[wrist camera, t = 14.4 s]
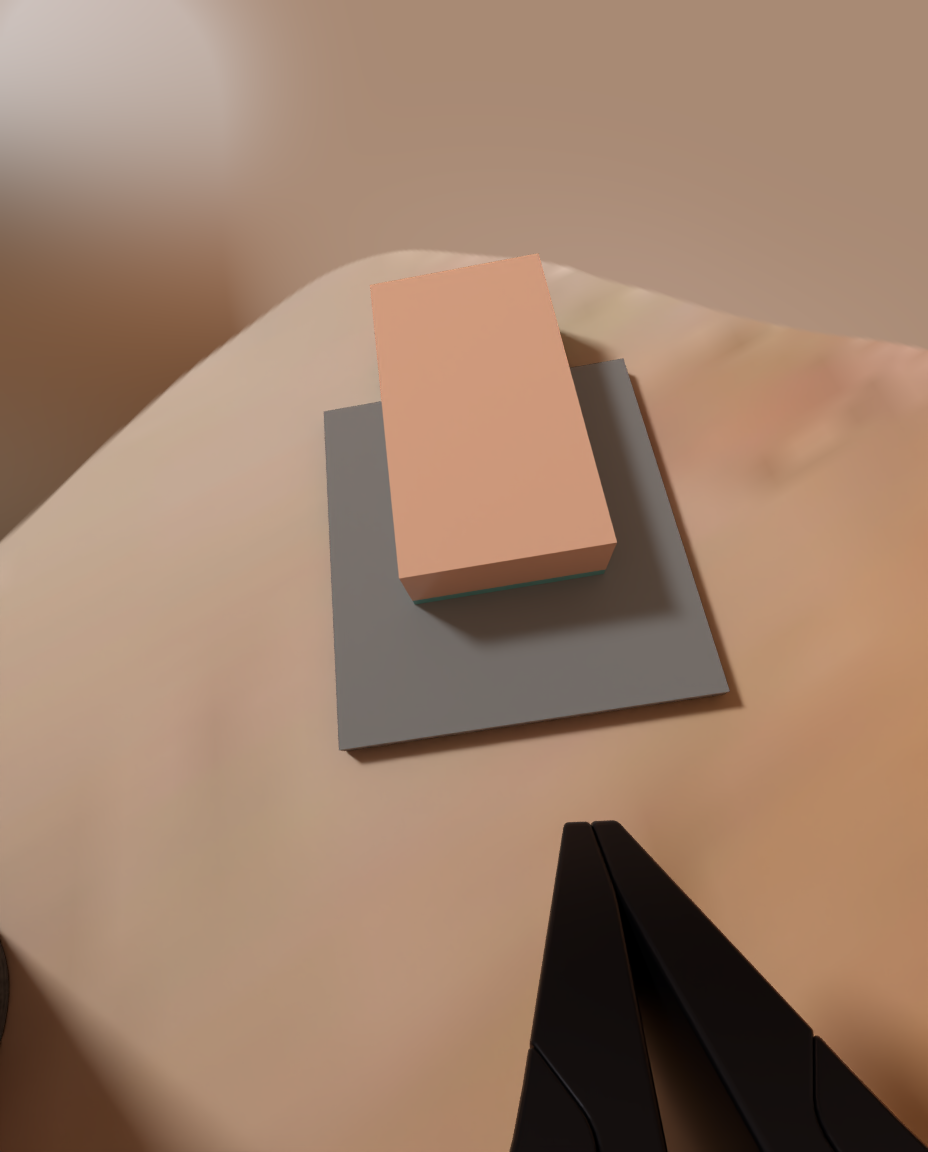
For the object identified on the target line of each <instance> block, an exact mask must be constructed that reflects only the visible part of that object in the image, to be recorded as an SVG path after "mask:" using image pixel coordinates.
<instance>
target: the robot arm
mask: <svg viewBox="0 0 928 1152" xmlns="http://www.w3.org/2000/svg"><path fill="white" fill-rule="evenodd" d="M510 1152H928V1147H927V1146H926V1145H925V1144H924V1143H923V1142H922V1141H921V1140H920V1139H919V1138H918V1137H917V1136H916V1135H915V1134H913V1133H912V1132H911V1131H910V1130H909V1129H908V1128H907V1127H906V1126H905V1125H904V1124H903V1123H902V1122H901V1121H900V1120H899V1119H898V1118H897V1117H896V1116H895V1115H894V1114H893V1113H892V1112H891V1111H890V1110H889V1109H888V1108H887V1107H886V1106H885V1105H884V1104H883V1103H882V1101H881V1100H880V1099H879V1098H878V1097H877V1096H876V1095H875V1094H874V1093H873V1092H872V1091H871V1090H870V1089H869V1088H868V1087H867V1086H866V1085H865V1084H864V1083H863V1082H862V1081H861V1080H860V1079H859V1078H858V1077H857V1076H856V1075H855V1074H854V1073H853V1072H852V1071H851V1070H850V1069H849V1067H848V1066H847V1065H846V1064H845V1063H844V1062H843V1061H842V1060H841V1059H840V1058H839V1057H838V1056H837V1055H836V1054H835V1053H834V1051H833V1050H832V1049H831V1048H830V1047H829V1046H828V1045H827V1044H826V1043H825V1042H824V1041H823V1040H822V1039H821V1038H820V1037H819V1036H814V1035H813V1030H812V1028H811V1027H810V1026H809V1025H808V1024H807V1023H806V1022H805V1021H804V1020H803V1019H802V1018H801V1016H800V1015H799V1014H798V1013H797V1012H796V1011H795V1010H794V1009H793V1008H792V1007H791V1006H790V1005H789V1004H788V1003H787V1002H786V1000H785V999H784V998H783V997H782V996H781V995H780V994H779V993H778V992H777V991H776V990H775V989H774V988H773V987H772V986H771V984H770V983H769V982H768V981H767V980H766V979H765V978H764V977H763V976H762V975H761V974H760V973H759V972H758V971H757V969H756V968H755V967H754V966H753V965H752V964H751V963H750V962H749V961H748V960H747V959H746V958H745V957H744V956H743V955H742V953H741V952H740V951H739V950H738V949H737V948H736V947H735V946H734V945H733V944H732V943H731V942H730V941H729V940H728V939H727V937H726V936H725V935H724V934H723V933H722V932H721V931H720V930H719V929H718V928H717V927H716V926H715V925H714V924H713V923H712V921H711V920H710V919H709V918H708V917H707V916H706V915H705V914H704V913H703V912H702V911H701V910H700V909H699V908H698V906H697V905H696V904H695V903H694V902H693V901H692V900H691V899H690V898H689V897H688V896H687V895H686V894H685V893H684V892H683V890H682V889H681V888H680V887H679V886H678V885H677V884H676V883H675V882H674V881H673V880H672V879H671V878H670V877H669V876H668V874H667V873H666V872H665V871H664V870H663V869H662V868H661V867H660V866H659V865H658V864H657V863H656V862H655V861H654V859H653V858H652V857H651V856H650V855H649V854H648V853H647V852H646V851H645V850H644V849H643V848H642V847H641V846H640V845H639V843H638V842H637V841H636V840H635V839H634V838H633V837H632V836H631V835H630V834H629V833H628V832H627V831H626V830H625V829H624V827H623V826H622V825H621V824H620V823H618V822H617V821H614V820H610V821H594V822H592V823H591V825H590V824H589V823H588V822H568V823H566V824H565V825H564V828H563V833H562V840H561V846H560V853H559V859H558V865H557V872H556V878H555V884H554V891H553V897H552V904H551V910H550V916H549V923H548V929H547V936H546V942H545V948H544V955H543V961H542V968H541V974H540V980H539V987H538V993H537V999H536V1006H535V1012H534V1019H533V1025H532V1031H531V1038H530V1049H529V1050H528V1055H527V1061H526V1068H525V1074H524V1080H523V1087H522V1092H521V1097H520V1102H519V1108H518V1113H517V1118H516V1124H515V1129H514V1134H513V1140H512V1144H511V1148H510Z"/></svg>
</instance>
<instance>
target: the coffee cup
mask: <svg viewBox="0 0 928 1152" xmlns="http://www.w3.org/2000/svg"><path fill="white" fill-rule="evenodd" d="M8 991H9V985H8V970H7V964H6V959H5V955H4V951H3V948H2V945H1V943H0V1040H1V1037H2V1033H3V1029H4V1024H5V1019H6V1014H7V1006H8Z"/></svg>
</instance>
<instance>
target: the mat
mask: <svg viewBox="0 0 928 1152" xmlns="http://www.w3.org/2000/svg"><path fill="white" fill-rule="evenodd" d="M570 371H571V375H572V379H573V382H574V386H575V390H576V393H577V397H578V401H579V404H580V408H581V412H582V415H583V419H584V423H585V426H586V430H587V434H588V437H589V441H590V445H591V448H592V452H593V456H594V459H595V463H596V467H597V471H598V474H599V478H600V482H601V485H602V489H603V493H604V496H605V500H606V504H607V507H608V511H609V515H610V518H611V522H612V526H613V529H614V533H615V537H616V540H617V544H616V546H615V549H614V551H613V553H612V556H611V558H610V561H609V563H608V565H607V568H606V570H605V572H604V574H600V575H593V576H587V577H581V578H575V579H569V580H563V581H557V582H551V583H544V584H538V585H532V586H526V587H520V588H514V589H508V590H501V591H495V592H489V593H483V594H477V595H471V596H465V597H458V598H452V599H446V600H440V601H434V602H428V603H422V604H416V605H415V604H414V603H413V601H412V599H411V598H410V596H409V594H408V593H407V591H406V589H405V588H404V586H403V584H402V583H401V581H400V579H399V573H398V563H397V553H396V542H395V532H394V522H393V512H392V502H391V492H390V482H389V472H388V461H387V451H386V441H385V431H384V421H383V411H382V401H381V402H375V403H369V404H364V405H358V406H352V407H347V408H341V409H335V410H330V411H324V428H325V450H326V472H327V494H328V517H329V539H330V561H331V583H332V606H333V628H334V650H335V672H336V695H337V717H338V739H339V750H341V751H349V750H355V749H362V748H369V747H375V746H382V745H389V744H395V743H402V742H409V741H415V740H422V739H429V738H435V737H442V736H449V735H455V734H462V733H469V732H475V731H482V730H489V729H495V728H502V727H509V726H515V725H522V724H529V723H535V722H542V721H549V720H555V719H562V718H569V717H575V716H582V715H588V714H595V713H602V712H608V711H615V710H622V709H628V708H635V707H642V706H648V705H655V704H662V703H668V702H675V701H682V700H688V699H695V698H702V697H708V696H715V695H722V694H725V693H727V692H730V690H729V687H728V684H727V681H726V678H725V675H724V672H723V668H722V665H721V662H720V659H719V656H718V653H717V650H716V647H715V643H714V640H713V637H712V634H711V631H710V628H709V625H708V622H707V618H706V615H705V612H704V609H703V606H702V603H701V600H700V597H699V593H698V590H697V587H696V584H695V581H694V578H693V575H692V572H691V568H690V565H689V562H688V559H687V556H686V553H685V550H684V547H683V543H682V540H681V537H680V534H679V531H678V528H677V525H676V522H675V519H674V515H673V512H672V509H671V506H670V503H669V500H668V497H667V494H666V490H665V487H664V484H663V481H662V478H661V475H660V472H659V469H658V465H657V462H656V459H655V456H654V453H653V450H652V447H651V444H650V440H649V437H648V434H647V431H646V428H645V425H644V422H643V419H642V415H641V412H640V409H639V406H638V403H637V400H636V397H635V394H634V390H633V387H632V384H631V381H630V378H629V375H628V372H627V369H626V365H625V362H624V359H617V360H612V361H606V362H600V363H595V364H589V365H583V366H578V367H572V368H570Z"/></svg>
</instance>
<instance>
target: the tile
mask: <svg viewBox="0 0 928 1152" xmlns="http://www.w3.org/2000/svg"><path fill="white" fill-rule="evenodd" d="M370 289H371V299H372V309H373V320H374V330H375V340H376V350H377V360H378V370H379V380H380V390H381V401H382V411H383V421H384V431H385V441H386V451H387V461H388V472H389V482H390V492H391V502H392V512H393V522H394V532H395V542H396V553H397V563H398V573H399V579H400V581H401V583H402V584H403V586H404V588H405V589H406V591H407V593H408V594H409V596H410V598H411V599H412V601H413V603H414V604H415V605H416V604H422V603H428V602H434V601H440V600H446V599H452V598H458V597H465V596H471V595H477V594H483V593H489V592H495V591H501V590H508V589H514V588H520V587H526V586H532V585H538V584H544V583H551V582H557V581H563V580H569V579H575V578H581V577H587V576H593V575H600V574H604V572H605V570H606V568H607V565H608V563H609V561H610V558H611V556H612V553H613V551H614V549H615V546H616V544H617V540H616V537H615V533H614V529H613V526H612V522H611V518H610V515H609V511H608V507H607V504H606V500H605V496H604V493H603V489H602V485H601V482H600V478H599V474H598V471H597V467H596V463H595V459H594V456H593V452H592V448H591V445H590V441H589V437H588V434H587V430H586V426H585V423H584V419H583V415H582V412H581V408H580V404H579V401H578V397H577V393H576V390H575V386H574V382H573V379H572V375H571V371H570V367H569V364H568V360H567V356H566V353H565V349H564V345H563V342H562V338H561V334H560V331H559V327H558V323H557V320H556V316H555V312H554V309H553V305H552V301H551V298H550V294H549V290H548V287H547V283H546V279H545V276H544V272H543V268H542V264H541V261H540V257H539V254H532V255H527V256H522V257H516V258H511V259H506V260H500V261H495V262H490V263H484V264H479V265H474V266H469V267H463V268H458V269H453V270H447V271H442V272H437V273H431V274H426V275H421V276H416V277H410V278H405V279H400V280H394V281H389V282H384V283H378V284H373V285H370Z"/></svg>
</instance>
